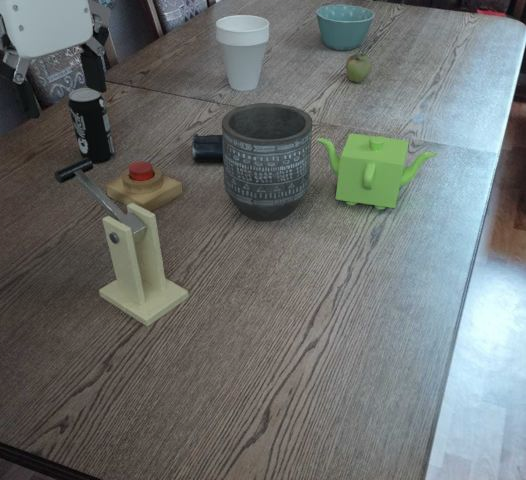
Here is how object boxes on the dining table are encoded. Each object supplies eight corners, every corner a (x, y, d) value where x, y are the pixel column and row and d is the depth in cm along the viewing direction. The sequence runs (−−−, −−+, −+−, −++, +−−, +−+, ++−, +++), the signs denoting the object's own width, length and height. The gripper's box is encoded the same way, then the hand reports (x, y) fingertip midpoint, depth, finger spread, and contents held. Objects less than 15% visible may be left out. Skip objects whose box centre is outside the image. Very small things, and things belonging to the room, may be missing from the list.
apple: (367, 74, 139) (371, 48, 135) (369, 86, 134) (373, 60, 130) (343, 73, 140) (346, 48, 136) (344, 85, 134) (347, 59, 130)
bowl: (372, 38, 159) (377, 6, 153) (367, 57, 148) (371, 22, 142) (319, 34, 161) (321, 2, 155) (309, 52, 150) (311, 18, 145)
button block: (107, 195, 98) (102, 175, 95) (145, 176, 103) (141, 156, 100) (145, 215, 94) (141, 194, 91) (182, 194, 98) (180, 173, 96)
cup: (252, 99, 128) (252, 34, 118) (208, 89, 132) (204, 25, 123) (277, 82, 136) (279, 19, 126) (235, 72, 140) (233, 11, 130)
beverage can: (74, 158, 108) (58, 95, 99) (99, 145, 111) (85, 84, 103) (98, 167, 105) (83, 103, 97) (122, 154, 109) (110, 92, 100)
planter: (209, 213, 94) (202, 127, 83) (253, 177, 103) (252, 95, 92) (280, 238, 89) (283, 150, 78) (321, 199, 97) (328, 114, 87)
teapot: (425, 205, 96) (440, 146, 88) (367, 228, 91) (377, 168, 83) (368, 169, 105) (377, 113, 97) (312, 188, 100) (316, 131, 92)
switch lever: (53, 180, 71) (54, 166, 69) (85, 165, 74) (86, 152, 72) (122, 250, 70) (124, 238, 68) (151, 233, 73) (154, 221, 71)
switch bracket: (100, 296, 79) (78, 215, 69) (142, 270, 83) (126, 190, 74) (147, 327, 74) (130, 245, 65) (189, 297, 79) (179, 216, 69)
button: (125, 177, 95) (123, 167, 94) (143, 168, 98) (141, 159, 96) (141, 184, 94) (139, 175, 92) (158, 175, 96) (157, 166, 95)
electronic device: (194, 175, 106) (271, 163, 105) (188, 146, 103) (267, 134, 101) (198, 158, 113) (270, 147, 112) (192, 131, 110) (266, 119, 109)
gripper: (68, -91, 60) (101, 74, 72) (-86, -68, 51) (-18, 117, 63) (113, -84, 57) (140, 88, 69) (-43, -58, 47) (20, 136, 60)
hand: (65, 102), depth 66 cm, fingers open, 9 cm apart
